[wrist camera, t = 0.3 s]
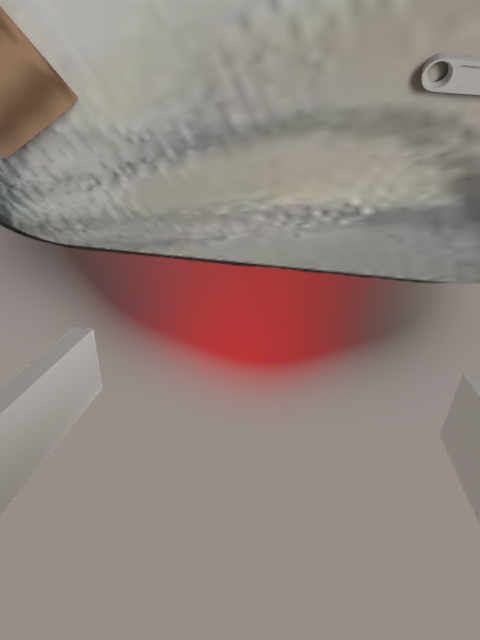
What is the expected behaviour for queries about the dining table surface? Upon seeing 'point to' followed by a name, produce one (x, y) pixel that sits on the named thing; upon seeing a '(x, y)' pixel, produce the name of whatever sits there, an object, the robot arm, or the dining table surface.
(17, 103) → the walnut board
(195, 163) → the dining table surface
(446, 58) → the adjustable wrench
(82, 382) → the robot arm
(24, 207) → the dining table surface
